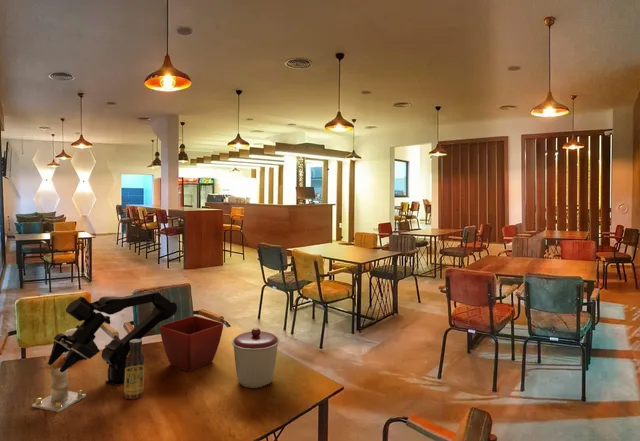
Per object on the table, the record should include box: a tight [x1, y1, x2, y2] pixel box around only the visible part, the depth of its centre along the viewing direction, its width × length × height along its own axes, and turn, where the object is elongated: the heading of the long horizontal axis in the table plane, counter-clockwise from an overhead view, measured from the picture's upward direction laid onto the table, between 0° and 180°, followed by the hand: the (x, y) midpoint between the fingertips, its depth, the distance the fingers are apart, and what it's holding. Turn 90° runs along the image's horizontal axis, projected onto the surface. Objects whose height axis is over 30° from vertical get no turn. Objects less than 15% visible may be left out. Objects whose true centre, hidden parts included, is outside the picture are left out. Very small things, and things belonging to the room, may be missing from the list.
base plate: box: [31, 389, 87, 413], centre depth 139 cm, size 11×11×2 cm
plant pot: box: [159, 315, 224, 372], centre depth 172 cm, size 19×19×17 cm
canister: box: [231, 327, 281, 389], centre depth 156 cm, size 18×18×21 cm
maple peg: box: [49, 367, 69, 403], centre depth 139 cm, size 5×5×10 cm
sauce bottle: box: [123, 338, 145, 400], centre depth 143 cm, size 6×6×20 cm
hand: (54, 368), depth 137 cm, fingers open, 9 cm apart
